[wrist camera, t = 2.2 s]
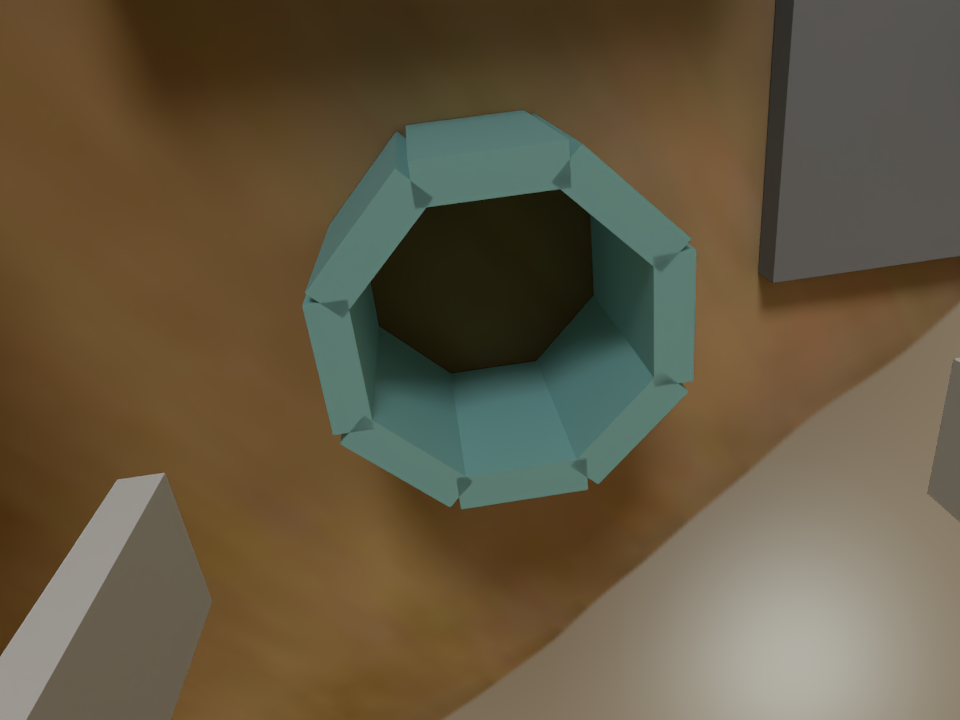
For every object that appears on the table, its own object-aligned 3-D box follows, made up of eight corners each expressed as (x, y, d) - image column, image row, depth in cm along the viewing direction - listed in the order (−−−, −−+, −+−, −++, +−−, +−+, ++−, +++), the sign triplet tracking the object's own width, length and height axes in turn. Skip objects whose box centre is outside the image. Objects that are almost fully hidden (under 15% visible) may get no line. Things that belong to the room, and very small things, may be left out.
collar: (365, 412, 24) (355, 525, 18) (307, 138, 20) (271, 179, 14) (626, 373, 24) (691, 473, 19) (619, 97, 20) (699, 122, 15)
